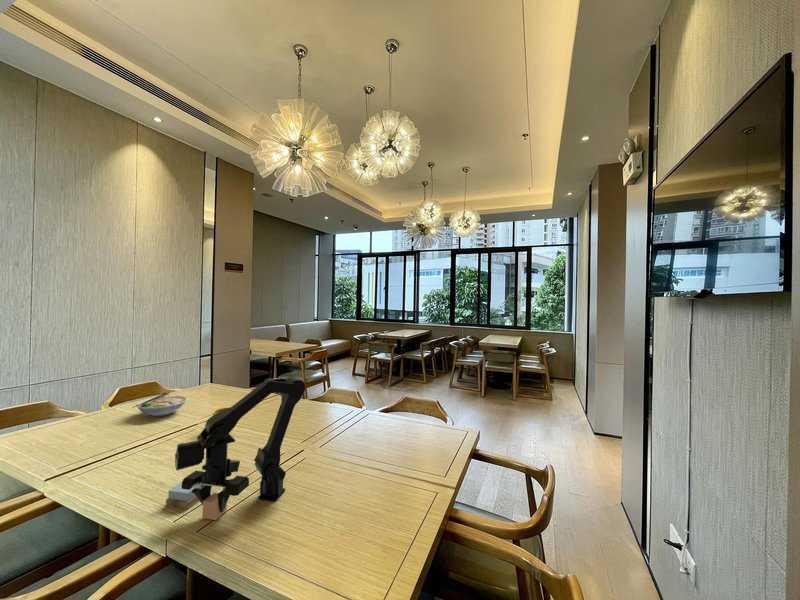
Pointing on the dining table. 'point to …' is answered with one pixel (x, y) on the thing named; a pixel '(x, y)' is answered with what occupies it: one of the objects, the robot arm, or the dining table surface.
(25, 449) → the dining table surface
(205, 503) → the clay block
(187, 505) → the walnut slab
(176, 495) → the blue slab
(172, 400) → the ramen bowl
